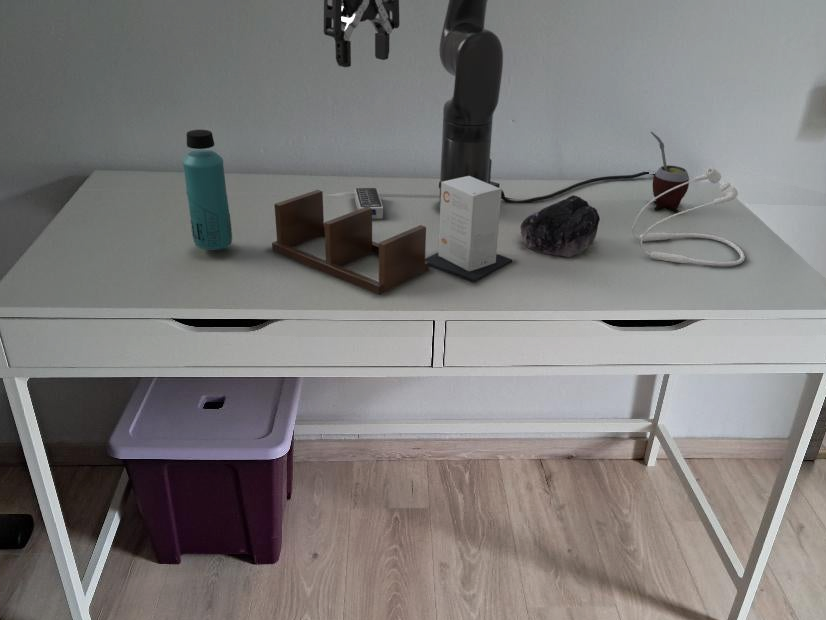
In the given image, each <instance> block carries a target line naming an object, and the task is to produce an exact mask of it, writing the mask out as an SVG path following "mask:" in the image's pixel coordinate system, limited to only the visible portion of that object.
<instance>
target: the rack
mask: <svg viewBox="0 0 826 620" xmlns="http://www.w3.org/2000/svg"><path fill="white" fill-rule="evenodd" d="M323 193H324V192H323V190H321V189H320V190H319V189H315V190H312V191H310V192H306V193H303V194H300V195H298V196H295V197H291V198H288V199H285V200H282V201H279V202H276V203H274V217H275V231H276V240H275V241H273V242H271V251H272V252H275V253H277V254H279V255H281V256H284V257H287V258H289V259H292V260H294V261H296V262H299V263H301V264H304V265H306V266H309V267H310V268H314V269H316V270H318V271H321V272H322V273H325V274H327V275H330V276H332V277H335V278H337V279H340V280H342V281H345V282H347V283H350V284H351V285H355V286H357V287H359V288H362V289H364V290H366V291H369V292H371V293H373V294H376V295H378V296H380V295H382V294H384V293H386V292H388V291H390V290H392V289H395V288H396V287H398V286H400V285H402V284H404V283H406V282H408V281H410V280H412V279H415V278H417V277H418V276H421V275H422V274H425V273H426V272H428V271H430V266H429V262H427V261H425V259H426V245H427V226H425V225H422V224H420V225H417V226H415V227H413V228H411V229H408V230H406V231H403V232H401V233H398V234H395V235H394V236H391V237H388V238H386V239H383V240H382V241H380V242H376V241H373V219H372V208H370V207H365V208H362V209H359V210H357V209H356V210H354V211H352V212H349V213H346V214H343V215H341V216H338V217H335V218H332V219H330V220H327V221H324V220H325V218H324V195H323ZM321 236H324V249H325V250H324V251H325V259H323V258H321V257H318V256H315V255H314V254H311V253H309V252H306V251H303V250H301V249H298V248H296V247H295V246H298V245H301V244H303V243H306V242H308V241H311V240H314V239H316V238H319V237H321ZM371 254H376V255H378V280H376V279H373V278H371V277H368V276H365V275H363V274H361V273H358V272H355V271H353V270H350V269H348V268H346V267H343V266H345V265H347V264H349V263H352V262H355V261H357V260H360V259H362V258H364V257H366V256H368V255H371Z"/></svg>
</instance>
